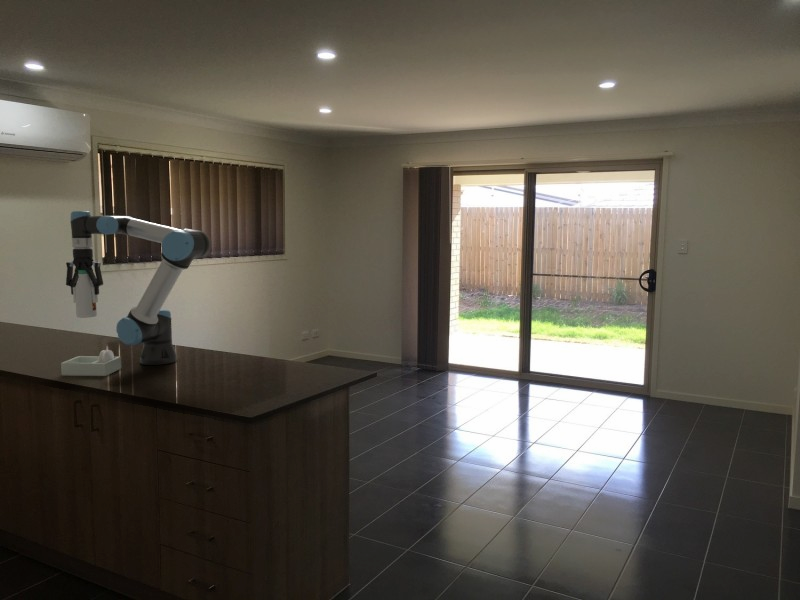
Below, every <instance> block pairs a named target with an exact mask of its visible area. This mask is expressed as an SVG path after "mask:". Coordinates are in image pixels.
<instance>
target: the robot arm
mask: <svg viewBox="0 0 800 600" xmlns="http://www.w3.org/2000/svg"><path fill="white" fill-rule="evenodd" d="M70 227H71V229H70V230H71V245H72V248H73V249H72V257H73V260H72V261H67V262H66V263H65V265H66V276H65V285H66V286H68V287H70V292H71V295H72V296H73V297H72V298H73V299H72V300H73V303H74V304H76V300H75V288H76V284H77V282H78V279H79V275H78V270H86V272H87V273H88V275H89V277H90V279H91V282H92V284H93V287H92V298H93V303H96V304H97V303H98V301H99V300H98V299H99V298H98V295H100V288H99V287H101V286H103V285H104V280H103V275H102V271H101V270H102V269H101V265H102V264H101V262H100V261H94V259H93V257H94V252H93V248H92V247H93V237H92V235H115V234H120V235H121V234H122V235H126V236H130V237H134V238H138V239H139V238H140V239H144V240H146V241H151V242H156V243H159V244H161V246H160V247H161V253H160V256H161V262H160V263H159V266H158V267H157V269H156V271H155V272H154V275H153V276H152V279H150V282H149V284H148V286H147V287H146V289H145V291H144V293H143V294H142V296H141V298H140V300H139V302H138V304H137V305H136V306H133V307H131V309H130V310H129V312H128V314H127V315H126V317H122V318H121V319H119V320H118V322H117V323H116V333H117V337H118V339H119V340H120V341H121V342H122V343H123V344H125V345H127V346H135V345H136V346H137V345H140V344H143V347H142V350H141V353H140V357H139V360H140V361H139V363H140V364H142V365H146V366H153V365H154V366H158V365H161V366H162V365H166V364H171V363H175V362H177V360H178V355H177V352H176V350H175V347H174V344H173V333H172V319H173V318H172V314H171V311H170V310H169V309H162V307H163V305H164V303H165V302H166V300H167V298H168V296H169V295H170V293H171V291H172V289H173V288H174V286H175V284H176V282H177V280H178V279H179V277H180V275H181V273H182V272H183V271H184V270H188V268H189V267H190V265H191V264H192V263H193V260H194V259H200V258H203V257H204V256H206V255H207V254H208V253H209V252H210V249H211V239H210V237H209V235H207V233H205V232H204V231H203V230H197V229H190V228H184V229H179V228H176V227H171V226H168V225H163V224H158V223H155V222H149V221H146V220H142V219H138V218H134V217H132V216H129V215H91V212H90V211H88V210H85V211H84V210H80V211H79V210H76V211H75V210H72V211H71V212H70ZM92 266H93V267H94V269H93V267H92ZM74 267H75V268H74Z"/></svg>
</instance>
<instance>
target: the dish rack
mask: <svg viewBox="0 0 800 600" xmlns="http://www.w3.org/2000/svg"><path fill="white" fill-rule="evenodd" d="M60 367H61V369H60V370H61V372H60V373H61V376H74V377H75V376H78V377H79V376H80V377H81V376H82V377H83V376H85V377H86V376H88V377H89V376H90V377H93V376H94V377H106V376H108V375H110V374H112V373H115V372H117V371H119V370H121V369H122V358H121V356H115V355H114V352H113V351H112V350H111V349H109V350H108V349H104V350H101V351H100V352H99V355H98V356H97V355H96V356H95V355H91V356H88V355H86V356H85V355H78V356H75V357H73V358H70V359H68V360H65V361H62V362H60Z"/></svg>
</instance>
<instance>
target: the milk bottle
mask: <svg viewBox="0 0 800 600" xmlns="http://www.w3.org/2000/svg"><path fill="white" fill-rule="evenodd" d="M78 275H79V278H78V281H77V284H76V286H75V287H76V288H75V300H76V303H75V313H76V318H80V319H81V318H84V319H85V318H94V317H97V302H96V303H93V298H92V287H93V284H92V282H91V279H90V277H89V275H88V273H87V272H86V270H78Z"/></svg>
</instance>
